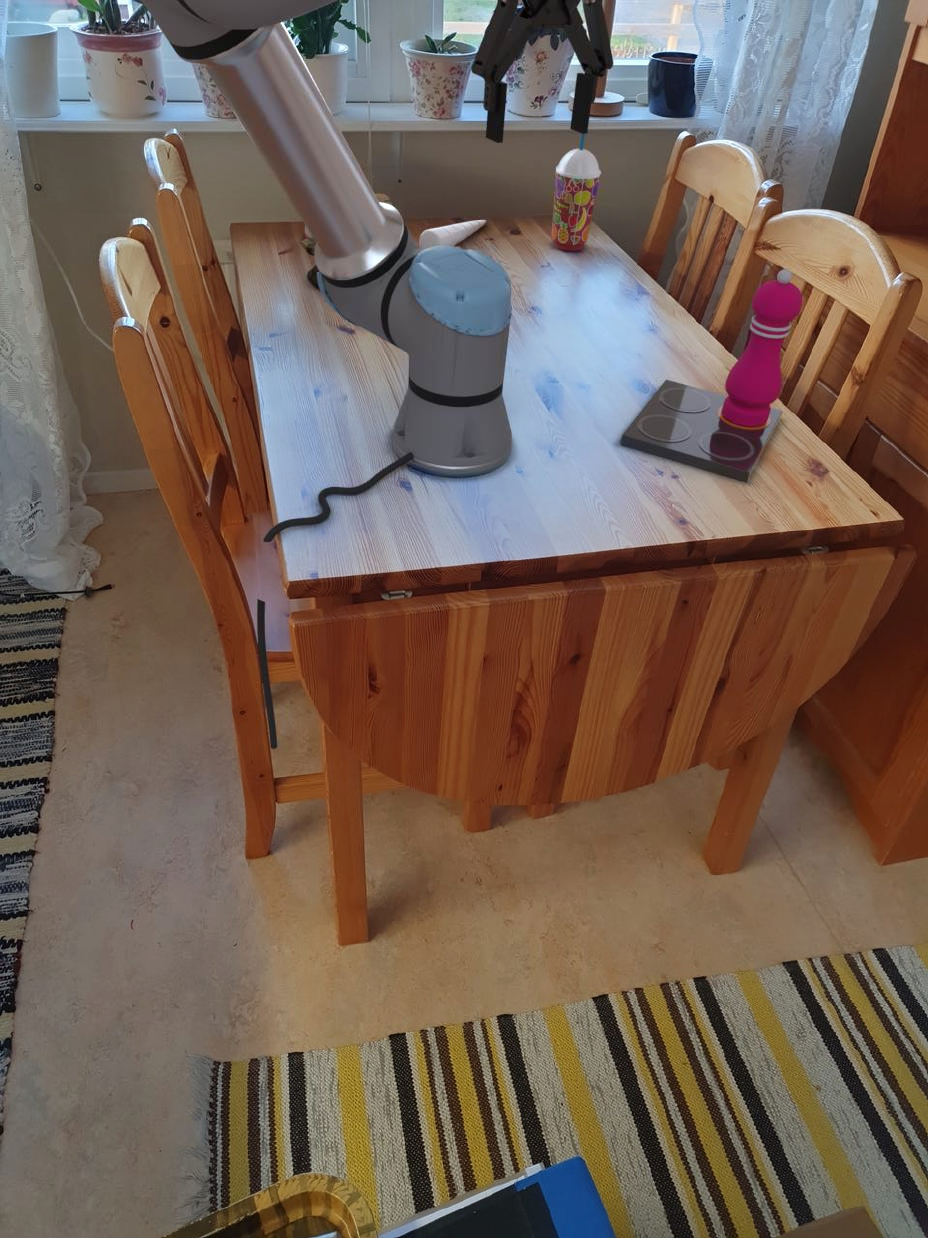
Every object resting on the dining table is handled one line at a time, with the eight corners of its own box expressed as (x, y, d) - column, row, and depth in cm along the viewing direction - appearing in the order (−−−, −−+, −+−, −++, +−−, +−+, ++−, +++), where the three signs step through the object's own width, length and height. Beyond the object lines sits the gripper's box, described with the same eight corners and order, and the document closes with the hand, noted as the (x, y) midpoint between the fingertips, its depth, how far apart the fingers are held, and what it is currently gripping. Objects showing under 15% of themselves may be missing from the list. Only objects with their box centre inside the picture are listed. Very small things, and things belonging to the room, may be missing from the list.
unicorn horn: (502, 227, 184) (504, 202, 181) (438, 261, 168) (440, 234, 165) (482, 222, 185) (483, 197, 182) (417, 255, 170) (417, 228, 166)
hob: (746, 482, 116) (750, 471, 115) (619, 444, 121) (622, 434, 120) (779, 420, 129) (782, 410, 128) (663, 388, 135) (666, 378, 134)
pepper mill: (707, 407, 127) (744, 261, 114) (749, 399, 130) (790, 256, 117) (739, 432, 123) (782, 283, 110) (782, 423, 125) (829, 277, 112)
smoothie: (540, 239, 180) (553, 126, 167) (579, 237, 182) (595, 125, 169) (556, 254, 174) (570, 138, 161) (596, 252, 176) (614, 138, 163)
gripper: (620, -72, 113) (594, 120, 127) (448, -75, 102) (440, 136, 116) (661, -64, 108) (629, 134, 122) (486, -67, 97) (472, 151, 111)
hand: (537, 135), depth 119 cm, fingers open, 13 cm apart
